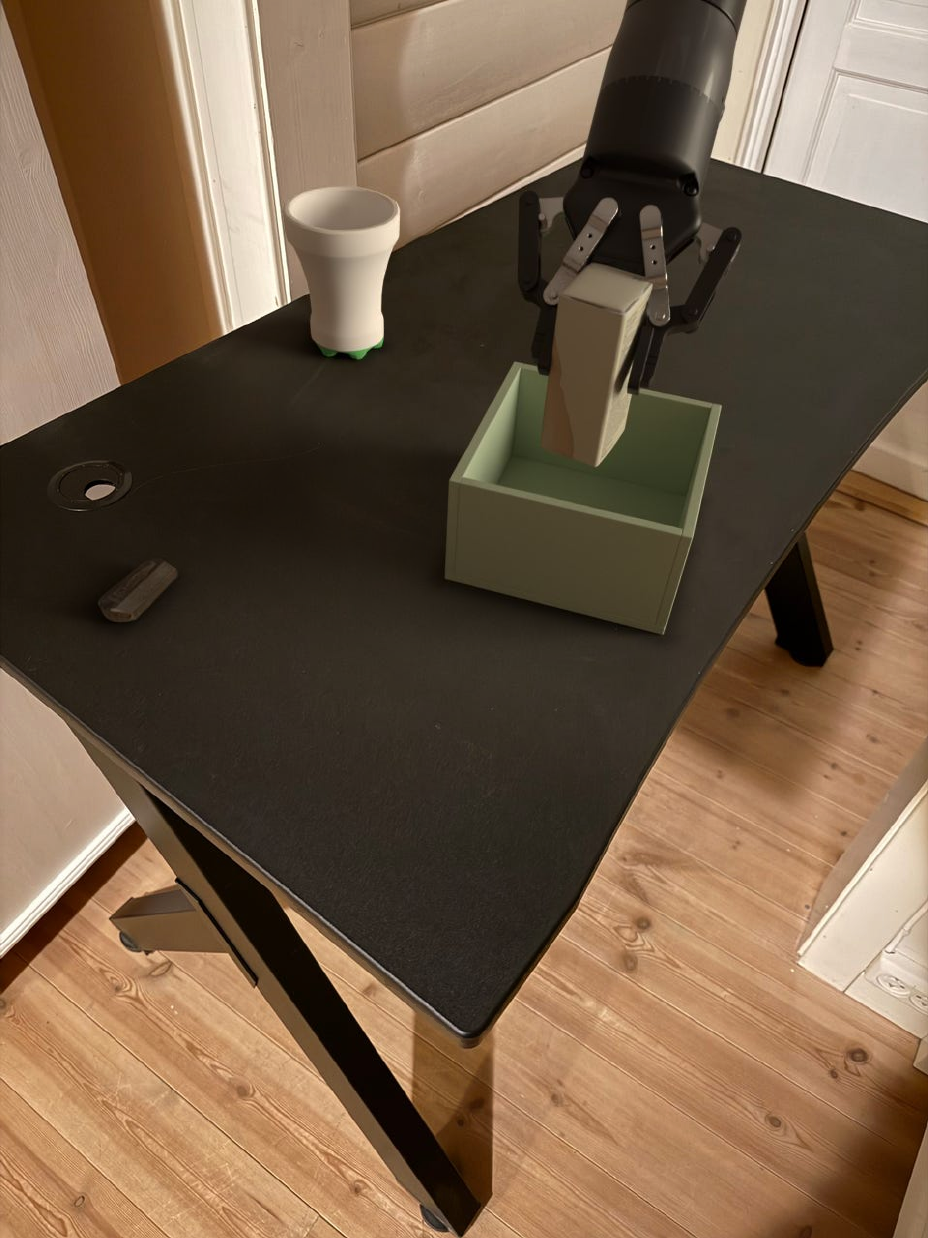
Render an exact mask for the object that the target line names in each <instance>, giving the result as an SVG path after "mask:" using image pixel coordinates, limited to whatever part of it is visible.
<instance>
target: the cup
mask: <svg viewBox="0 0 928 1238" xmlns="http://www.w3.org/2000/svg"><path fill="white" fill-rule="evenodd" d="M282 215H283V224H284V225H283V226H284V232H285V236H286V239H287V241H288V243H289V244H290V246H292V248H293V250H294V252H295V254H296V256H297V259H298V261H299V263H300V266H301V269H302V272H303V274H304V277H305V280H306V283H307V288H308V292H309V299H310V305H311V306H310V307H311V314H310V320H309V324H310V335H311V339H312V340H313V341H314V342H315V344H316V345H317V347H318V348H319V350H320V351H321V353H322V355H323V356H326V357H333V356H336V355H337V354H338V353H344V354H347V355H348V356H349V357H350V358H351V359H355V360H361V359H363V358H364V357H365V356H366V355H367V352H369V351H370V350H371V349H379V348H381V347H382V346H383V342H384V335H385V333H384V331H385V330H384V329H385V327H384V325H385V324H384V322H385V321H384V315H383V312H382V293H383V284H384V278H385V275H386V271H387V266H388V263H389V260H390V257H391V254H392V253H393V252H392V251H393V248H394V247H395V245H396V244H397V242H398V240H399V238H400V230H401V229H400V227H401V225H400V224H401V222H400V221H401V208H400V206H399V204H398V202H397V201H396V200H394V199H393V198H391V197H390V196H389V195H386V194H385V193H382V192H380V191H377V190H375V189H370V188H367V187H361V186H356V185H327V186H325V185H324V186H320V187H315V188H309V189H306V190H302V191H298V192H297V193H295V194H294V195H293V196H291V197H289V199H288V200H287V201H286V202H285V203H284V204H283V207H282Z"/></svg>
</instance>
